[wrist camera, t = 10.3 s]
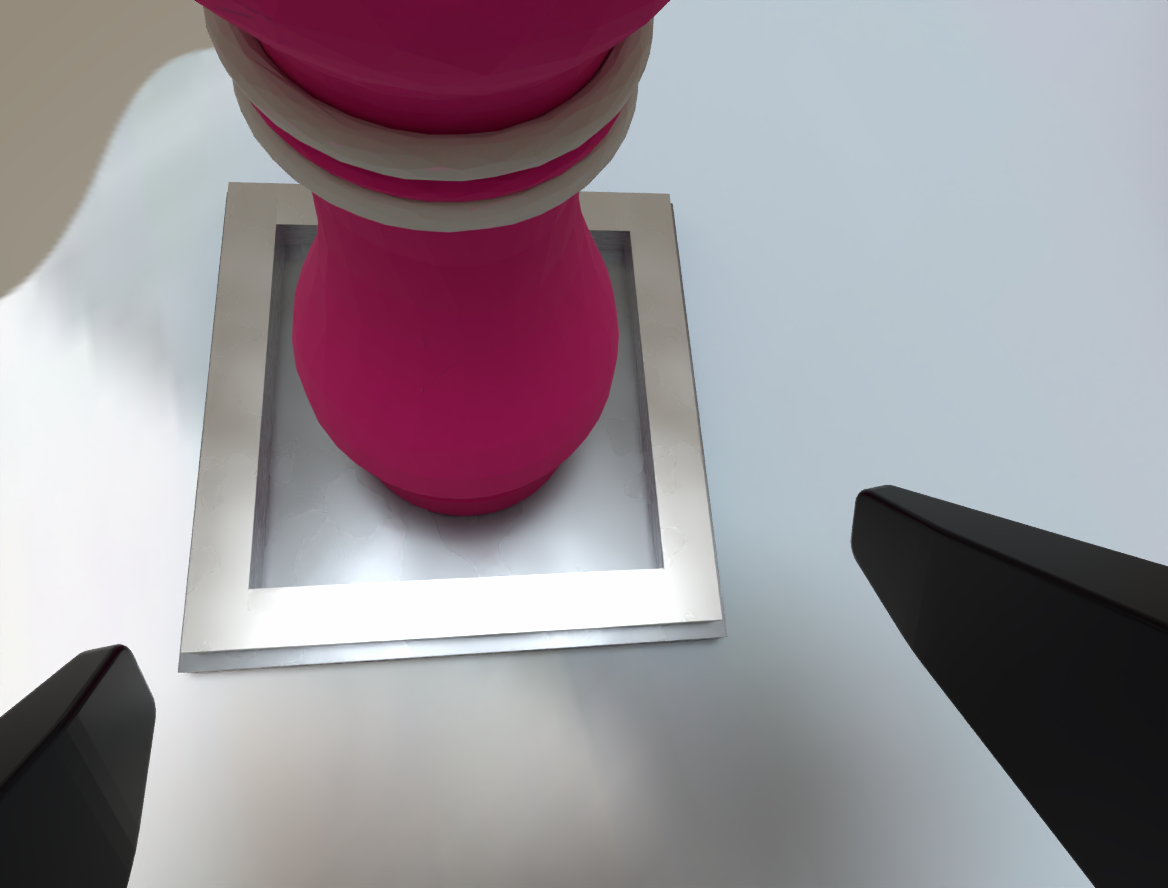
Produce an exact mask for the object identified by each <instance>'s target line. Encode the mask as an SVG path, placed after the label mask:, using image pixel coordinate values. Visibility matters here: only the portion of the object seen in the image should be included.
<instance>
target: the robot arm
mask: <svg viewBox="0 0 1168 888" xmlns="http://www.w3.org/2000/svg"><path fill="white" fill-rule="evenodd" d="M851 549H852V553H853V556H854V558H855V560H856V562H857V563H858V565H859V567H860V568H861V570H862V571H863V573H864V575H865V576H866V578H867V579H868V581H869V583H870V584H871V586H872V587H873V589H874V591H875V592H876V594H877V595H878V597H879V599H880V600H881V602H882V604H883V605H884V607H885V608H886V610H887V612H888V613H889V615H890V616H891V618H892V620H893V621H894V623H895V624H896V626H897V628H898V629H899V631H900V632H901V634H902V636H903V637H904V639H905V640H906V642H907V643H908V645H909V646H910V648H911V649H912V651H913V652H914V653H915V655H916V656H917V657H918V659H919V660H920V662H921V663H922V664H923V666H924V667H925V668H926V669H927V671H928V672H929V673H930V675H931V676H932V677H933V679H934V680H935V681H936V682H937V684H938V685H939V686H940V688H941V689H942V690H943V691H944V693H945V694H946V695H947V697H948V698H949V699H950V701H951V702H952V703H953V704H954V706H955V707H956V708H957V710H958V711H959V712H960V713H961V715H962V716H963V717H964V719H965V720H966V721H967V723H968V724H969V725H970V726H971V728H972V729H973V730H974V732H975V733H976V734H977V735H978V737H979V738H980V739H981V741H982V742H983V743H984V745H985V746H986V747H987V748H988V750H989V751H990V752H991V754H992V755H993V756H994V757H995V759H996V760H997V761H998V763H999V764H1000V765H1001V766H1002V768H1003V769H1004V770H1005V772H1006V773H1007V774H1008V776H1009V777H1010V778H1011V779H1012V781H1013V782H1014V783H1015V785H1016V786H1017V787H1018V788H1019V790H1020V791H1021V792H1022V794H1023V795H1024V796H1025V798H1026V799H1027V800H1028V801H1029V803H1030V804H1031V805H1032V807H1033V808H1034V809H1035V810H1036V812H1037V813H1038V814H1039V816H1040V817H1041V818H1042V820H1043V821H1044V822H1045V823H1046V825H1047V826H1048V827H1049V829H1050V830H1051V831H1052V832H1053V834H1054V835H1055V836H1056V838H1057V839H1058V840H1059V842H1060V843H1061V844H1062V845H1063V847H1064V848H1065V849H1066V851H1067V852H1068V853H1069V854H1070V856H1071V857H1072V858H1073V860H1074V861H1075V862H1076V863H1077V865H1078V866H1079V867H1080V869H1081V870H1082V871H1083V873H1084V874H1085V875H1086V876H1087V878H1088V879H1089V880H1090V882H1091V883H1092V884H1093V885H1094V887H1095V888H1168V566H1165V565H1162V564H1158V563H1155V562H1151V561H1148V560H1145V559H1141V558H1138V557H1134V556H1131V555H1127V554H1124V553H1121V552H1117V551H1114V550H1110V549H1107V548H1104V547H1100V546H1097V545H1093V544H1090V543H1087V542H1083V541H1080V540H1076V539H1073V538H1070V537H1066V536H1063V535H1059V534H1056V533H1053V532H1049V531H1046V530H1042V529H1039V528H1036V527H1032V526H1029V525H1025V524H1022V523H1019V522H1015V521H1012V520H1008V519H1005V518H1002V517H998V516H995V515H991V514H988V513H985V512H981V511H978V510H974V509H971V508H968V507H964V506H961V505H957V504H954V503H951V502H947V501H944V500H940V499H937V498H934V497H930V496H927V495H923V494H920V493H917V492H913V491H910V490H906V489H903V488H900V487H896V486H892V485H883V486H878V487H873V488H869V489H864V490H862V491H861V492H860V493H859V494H858V495H857V497H856V501H855V509H854V517H853V525H852V533H851ZM155 718H156V708H155V702H154V698H153V695H152V693H151V691H150V689H149V687H148V685H147V683H146V680H145V678H144V676H143V674H142V672H141V670H140V668H139V666H138V664H137V661H136V659H135V657H134V655H133V653H132V652H131V650H130V649H129V648H128V647H127V646H124V645H121V644H116V645H112V646H107V647H102V648H97V649H92V650H88V651H84V652H82V653H80V654H79V655H77V656H76V657H75V658H73V659H72V660H71V661H70V662H68V663H67V664H66V665H65V666H63V667H62V668H61V669H60V670H58V671H57V672H56V673H55V674H53V675H52V676H51V677H50V678H49V679H47V680H46V681H45V682H44V683H42V684H41V685H40V686H39V687H37V688H36V689H35V690H34V691H32V692H31V693H30V694H29V695H27V696H26V697H25V698H24V699H22V700H21V701H20V702H19V703H17V704H16V705H15V706H14V707H12V708H11V709H10V710H9V711H7V712H6V713H5V714H4V715H2V716H1V717H0V888H127V885H128V881H129V877H130V873H131V869H132V865H133V861H134V856H135V852H136V847H137V841H138V835H139V830H140V823H141V816H142V809H143V802H144V795H145V788H146V781H147V774H148V767H149V761H150V754H151V747H152V740H153V733H154V726H155Z"/></svg>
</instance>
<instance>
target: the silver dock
mask: <svg viewBox="0 0 1168 888" xmlns="http://www.w3.org/2000/svg"><path fill="white" fill-rule="evenodd" d="M579 201H580V207H581V212H582V214H583V217H584V219H585V222H586V224H587V227H588V229H589V231H590V234H591V236H592V238H593V240H594V242H595V244H596V246H597V248H598V250H599V252H600V254H601V256H602V259H603V261H604V263H605V265H606V267H607V269H608V273H609V277H610V281H611V285H612V288H613V293H614V298H615V304H616V310H617V318H618V328H619V343H618V356H617V361H616V366H615V371H614V376H613V380H612V385H611V389H610V393H609V397H608V400H607V402H606V404H605V407H604V409H603V411H602V414H601V416H600V418H599V420H598V421H597V423H596V424H595V426H594V427H593V429H592V431H591V432H590V434H589V435H588V437H587V438H586V439H585V440H584V441H583V443H582V444H581V445H580V446H579V447H578V448H577V449H576V450H575V451H574V452H573V453H572V454H571V455H570V456H569V457H568V458H567V459H566V460H565V461H563V462H562V463H561V464H560V465H559V467H558V468H557V470H556V471H555V472H554V473H553V475H552V476H551V477H550V478H549V480H548V481H547V482H546V483H545V484H543V485H542V486H541V487H540V488H539V489H538V490H537V491H535V492H534V493H533V494H531V495H530V496H529V497H527V498H525V499H524V500H522V501H520V502H519V503H517V504H514V505H512V506H510V507H508V508H505V509H502V510H499V511H495V512H492V513H488V514H481V515H470V516H456V515H447V514H440V513H436V512H432V511H429V510H426V509H423V508H420V507H418V506H415V505H413V504H412V503H410V502H408V501H406V500H404V499H402V498H400V497H399V496H398V495H396V494H395V493H394V492H392V491H391V490H390V489H388V488H387V487H386V486H385V485H384V484H383V483H382V482H381V481H380V480H379V479H378V478H377V477H376V476H374V475H373V474H371V473H370V472H368V471H366V470H365V469H363V468H362V467H360V466H359V465H357V464H356V463H355V462H353V461H352V460H351V459H350V458H349V457H348V456H347V455H346V454H345V453H344V452H342V451H341V450H340V449H339V448H338V447H337V446H336V445H335V443H334V442H333V441H332V439H331V438H330V437H329V436H328V434H327V433H326V432H325V430H324V429H323V428H322V426H321V425H320V424H319V422H318V420H317V418H316V416H315V414H314V411H313V409H312V407H311V405H310V403H309V400H308V398H307V396H306V393H305V391H304V388H303V385H302V383H301V380H300V377H299V375H298V372H297V369H296V365H295V358H294V351H293V344H292V326H293V310H294V298H295V290H296V287H297V283H298V280H299V277H300V273H301V270H302V266H303V264H304V262H305V259H306V257H307V254H308V252H309V250H310V248H311V245H312V243H313V241H314V239H315V237H316V235H317V229H318V219H317V215H316V210H315V205H314V200H313V195H312V191H310V190H309V189H307V188H306V187H304V186H303V185H301V184H278V183H240V182H229V185H228V192H227V198H226V207H225V217H224V227H223V237H222V246H221V256H220V266H219V276H218V285H217V295H216V305H215V315H214V324H213V334H212V344H211V354H210V363H209V373H208V383H207V393H206V402H205V412H204V422H203V432H202V441H201V451H200V461H199V471H198V480H197V490H196V500H195V510H194V519H193V529H192V539H191V549H190V558H189V568H188V578H187V588H186V597H185V607H184V617H183V627H182V636H181V646H180V656H179V666H178V673H198V672H213V671H228V670H244V669H259V668H275V667H290V666H305V665H321V664H336V663H351V662H367V661H382V660H397V659H413V658H428V657H443V656H459V655H474V654H489V653H505V652H520V651H535V650H551V649H566V648H581V647H597V646H612V645H627V644H643V643H658V642H673V641H689V640H704V639H718V638H723V637H727V634H726V626H725V618H724V610H723V602H722V594H721V586H720V578H719V570H718V562H717V554H716V546H715V538H714V531H713V523H712V515H711V507H710V499H709V491H708V483H707V475H706V467H705V459H704V451H703V443H702V435H701V427H700V419H699V411H698V403H697V395H696V387H695V379H694V371H693V363H692V355H691V347H690V339H689V331H688V323H687V315H686V307H685V299H684V291H683V283H682V275H681V267H680V259H679V251H678V243H677V235H676V227H675V219H674V211H673V203H670V195H669V194H653V193H616V192H579Z"/></svg>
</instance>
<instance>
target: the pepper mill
mask: <svg viewBox="0 0 1168 888" xmlns="http://www.w3.org/2000/svg"><path fill="white" fill-rule="evenodd" d="M195 1H196V2H198V3H199V4H201V5H203V8H204V15H205V21H206V28H207V30H208V33H209V35H210V37H211V39H212V42H213V44H214V47H215V49H216V52H217V54H218V56H219V59H220V61H221V62H222V64H223V66H224V67H225V69H226V71H227V72H228V74H229V75H230V77H231V78H232V80H233V86H234V92H235V95H236V98H237V101H238V104H239V106H240V109H241V112H242V114H243V116H244V118H245V120H246V121H247V123H248V125H249V127H250V129H251V131H252V133H253V135H254V137H255V138H256V139H257V141H258V142H259V143H260V144H261V146H262V147H263V148H264V149H265V150H266V152H267V153H268V154H269V155H270V157H271V158H272V159H273V160H274V161H275V162H276V163H277V164H278V165H279V166H280V167H281V168H282V169H283V170H284V171H285V172H287V173H288V174H289V175H290V176H291V177H292V178H293V179H294V180H295V181H297V182H298V183H300V184H301V185H303V186H304V187H306V188H307V189H309V190H310V191H312V195H313V200H314V205H315V210H316V215H317V219H318V229H317V235H316V237H315V239H314V241H313V243H312V245H311V248H310V250H309V252H308V254H307V257H306V259H305V262H304V264H303V266H302V270H301V273H300V277H299V280H298V283H297V287H296V290H295V298H294V310H293V326H292V344H293V351H294V358H295V365H296V369H297V372H298V375H299V377H300V380H301V383H302V385H303V388H304V391H305V393H306V396H307V398H308V400H309V403H310V405H311V407H312V409H313V411H314V414H315V416H316V418H317V420H318V422H319V424H320V425H321V426H322V428H323V429H324V430H325V432H326V433H327V434H328V436H329V437H330V438H331V439H332V441H333V442H334V443H335V445H336V446H337V447H338V448H339V449H340V450H341V451H342V452H344V453H345V454H346V455H347V456H348V457H349V458H350V459H351V460H352V461H353V462H355V463H356V464H357V465H359V466H360V467H362V468H363V469H365V470H366V471H368V472H370V473H371V474H373V475H374V476H376V477H377V478H378V479H379V480H380V481H381V482H382V483H383V484H384V485H385V486H386V487H387V488H388V489H390V490H391V491H392V492H394V493H395V494H396V495H398V496H399V497H400V498H402V499H404V500H406V501H408V502H410V503H412V504H413V505H415V506H418V507H420V508H423V509H426V510H429V511H432V512H436V513H440V514H447V515H456V516H470V515H481V514H488V513H492V512H495V511H499V510H502V509H505V508H508V507H510V506H512V505H514V504H517V503H519V502H520V501H522V500H524V499H525V498H527V497H529V496H530V495H531V494H533V493H534V492H535V491H537V490H538V489H539V488H540V487H541V486H542V485H543V484H545V483H546V482H547V481H548V480H549V478H550V477H551V476H552V475H553V473H554V472H555V471H556V470H557V468H558V467H559V465H560V464H561V463H562V462H563V461H565V460H566V459H567V458H568V457H569V456H570V455H571V454H572V453H573V452H574V451H575V450H576V449H577V448H578V447H579V446H580V445H581V444H582V443H583V441H584V440H585V439H586V438H587V437H588V435H589V434H590V432H591V431H592V429H593V427H594V426H595V424H596V423H597V421H598V420H599V418H600V416H601V414H602V411H603V409H604V407H605V404H606V402H607V400H608V397H609V393H610V389H611V385H612V380H613V376H614V371H615V366H616V361H617V356H618V343H619V328H618V318H617V310H616V304H615V298H614V293H613V288H612V285H611V281H610V277H609V273H608V269H607V267H606V265H605V263H604V261H603V259H602V256H601V254H600V252H599V250H598V248H597V246H596V244H595V242H594V240H593V238H592V236H591V234H590V231H589V229H588V227H587V224H586V222H585V219H584V217H583V214H582V212H581V207H580V201H579V192H580V191H581V190H582V189H583V188H585V187H586V186H587V185H588V184H589V183H590V182H591V181H592V180H593V179H594V178H595V177H596V176H597V175H598V174H599V173H600V172H601V171H602V170H603V169H604V167H605V166H606V165H607V164H608V163H609V162H610V161H611V160H612V158H613V157H614V155H615V153H616V152H617V150H618V149H619V147H620V145H621V144H622V142H623V140H624V139H625V137H626V134H627V132H628V129H629V127H630V124H631V121H632V118H633V115H634V112H635V107H636V100H637V93H638V83H639V81H640V79H641V77H642V74H643V72H644V70H645V67H646V64H647V61H648V58H649V54H650V49H651V43H652V36H653V20H654V16H655V15H656V14H657V13H658V12H659V11H660V10H661V9H662V8H663V7H664V6H665V5H666V4H667V3H668V2H669V1H670V0H195Z"/></svg>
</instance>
